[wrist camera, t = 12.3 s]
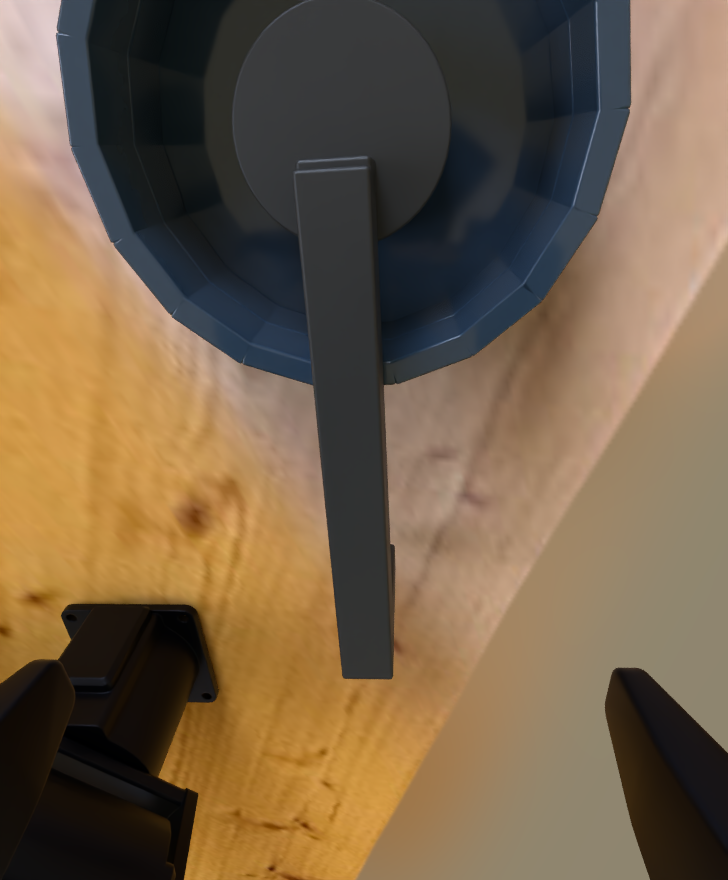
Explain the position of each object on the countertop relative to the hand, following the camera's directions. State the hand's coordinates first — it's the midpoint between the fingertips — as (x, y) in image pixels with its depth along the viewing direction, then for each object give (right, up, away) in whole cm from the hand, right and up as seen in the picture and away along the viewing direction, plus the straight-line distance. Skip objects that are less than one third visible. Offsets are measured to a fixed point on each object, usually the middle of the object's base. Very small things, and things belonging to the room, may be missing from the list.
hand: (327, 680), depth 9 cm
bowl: (0, +13, +7) cm, 15 cm away
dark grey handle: (+1, +7, +9) cm, 12 cm away
